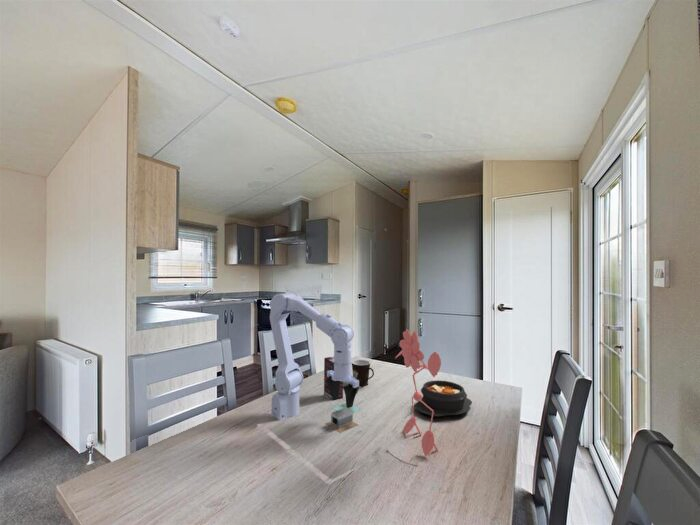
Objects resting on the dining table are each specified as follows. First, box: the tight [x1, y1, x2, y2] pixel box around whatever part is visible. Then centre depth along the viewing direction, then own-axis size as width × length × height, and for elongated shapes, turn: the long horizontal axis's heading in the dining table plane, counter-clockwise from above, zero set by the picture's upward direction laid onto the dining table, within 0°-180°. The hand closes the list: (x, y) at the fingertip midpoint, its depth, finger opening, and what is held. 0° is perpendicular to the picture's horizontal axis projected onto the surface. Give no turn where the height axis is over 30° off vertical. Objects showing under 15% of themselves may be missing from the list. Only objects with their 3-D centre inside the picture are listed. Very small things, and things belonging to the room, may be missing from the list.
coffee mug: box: [351, 359, 375, 388], centre depth 147 cm, size 12×9×10 cm
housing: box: [330, 408, 354, 429], centre depth 108 cm, size 6×4×4 cm, turn 131°
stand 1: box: [331, 402, 362, 414], centre depth 120 cm, size 8×8×1 cm
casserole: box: [413, 380, 473, 417], centre depth 123 cm, size 25×19×8 cm
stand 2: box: [325, 421, 359, 434], centre depth 108 cm, size 8×8×1 cm
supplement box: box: [323, 356, 344, 401], centre depth 133 cm, size 9×5×16 cm, turn 31°
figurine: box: [387, 328, 442, 467], centre depth 97 cm, size 15×26×35 cm, turn 19°
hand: (342, 403), depth 108 cm, fingers open, 7 cm apart
